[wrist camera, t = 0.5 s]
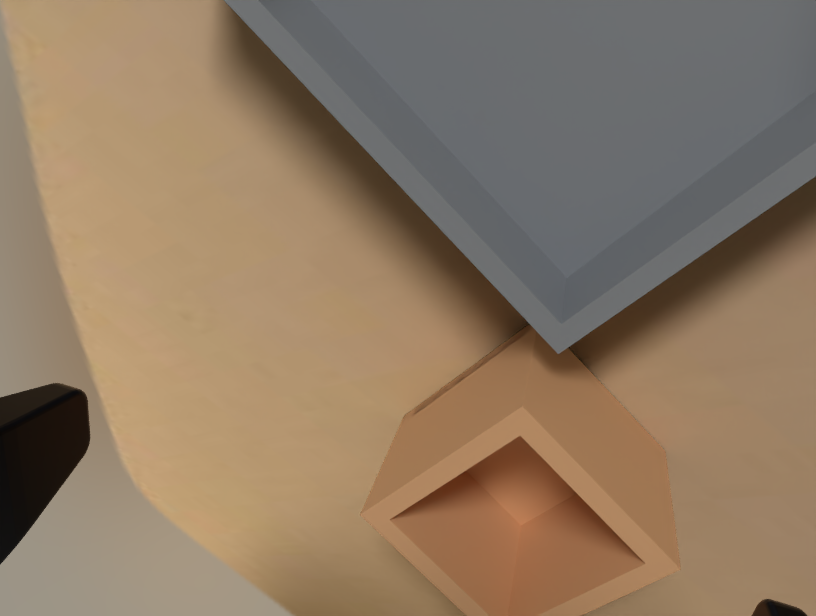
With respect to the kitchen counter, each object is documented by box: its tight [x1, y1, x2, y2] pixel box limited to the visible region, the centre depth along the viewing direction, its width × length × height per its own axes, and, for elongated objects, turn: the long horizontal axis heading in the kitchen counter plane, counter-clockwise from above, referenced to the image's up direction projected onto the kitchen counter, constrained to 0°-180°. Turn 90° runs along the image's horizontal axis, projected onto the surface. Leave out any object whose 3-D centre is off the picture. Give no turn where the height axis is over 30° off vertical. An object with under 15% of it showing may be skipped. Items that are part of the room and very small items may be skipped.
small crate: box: [360, 324, 681, 616], centre depth 21 cm, size 6×6×5 cm
